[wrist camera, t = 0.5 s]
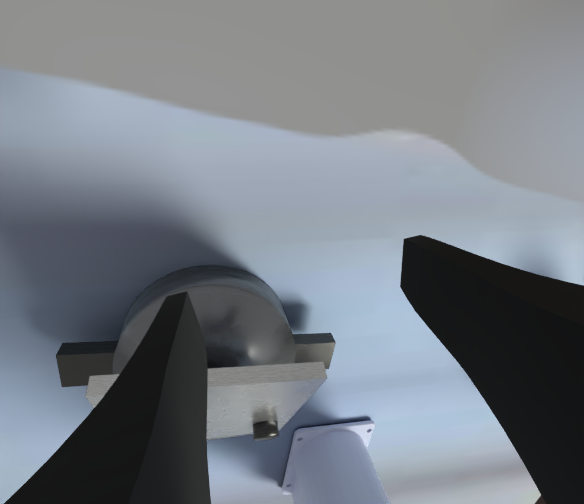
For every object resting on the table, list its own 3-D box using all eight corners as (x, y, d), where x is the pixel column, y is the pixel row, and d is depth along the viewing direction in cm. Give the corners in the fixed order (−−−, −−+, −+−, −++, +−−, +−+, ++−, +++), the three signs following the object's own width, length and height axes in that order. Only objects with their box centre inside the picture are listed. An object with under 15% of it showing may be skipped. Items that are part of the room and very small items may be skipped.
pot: (305, 392, 29) (316, 424, 26) (86, 411, 24) (72, 452, 22) (334, 267, 24) (351, 292, 21) (63, 262, 19) (40, 292, 17)
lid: (276, 420, 25) (278, 445, 24) (128, 436, 22) (124, 465, 21) (323, 361, 16) (330, 396, 15) (89, 376, 14) (80, 419, 13)
